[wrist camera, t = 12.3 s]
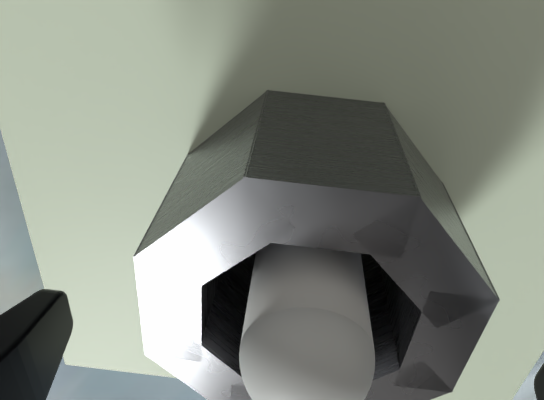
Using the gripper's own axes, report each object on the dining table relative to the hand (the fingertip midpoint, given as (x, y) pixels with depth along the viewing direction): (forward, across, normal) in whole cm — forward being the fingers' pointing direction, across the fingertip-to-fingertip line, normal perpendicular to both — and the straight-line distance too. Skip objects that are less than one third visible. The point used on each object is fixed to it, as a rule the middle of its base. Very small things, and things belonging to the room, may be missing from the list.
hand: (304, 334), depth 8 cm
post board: (+5, 0, 0) cm, 5 cm away
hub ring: (+4, 0, 0) cm, 4 cm away
